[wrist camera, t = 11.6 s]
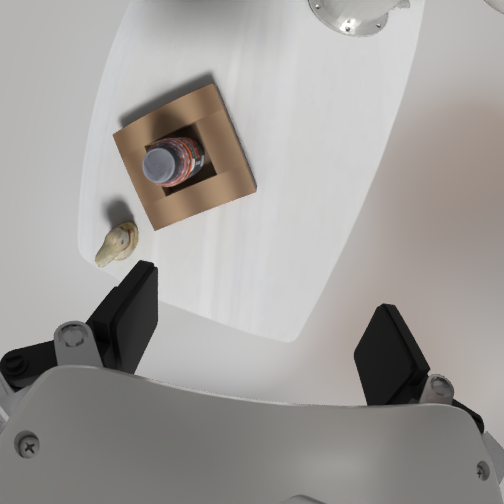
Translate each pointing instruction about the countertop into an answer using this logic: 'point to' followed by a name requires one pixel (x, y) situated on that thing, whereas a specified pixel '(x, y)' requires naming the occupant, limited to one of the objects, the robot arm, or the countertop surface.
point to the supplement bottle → (173, 160)
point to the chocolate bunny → (118, 244)
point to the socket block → (215, 165)
